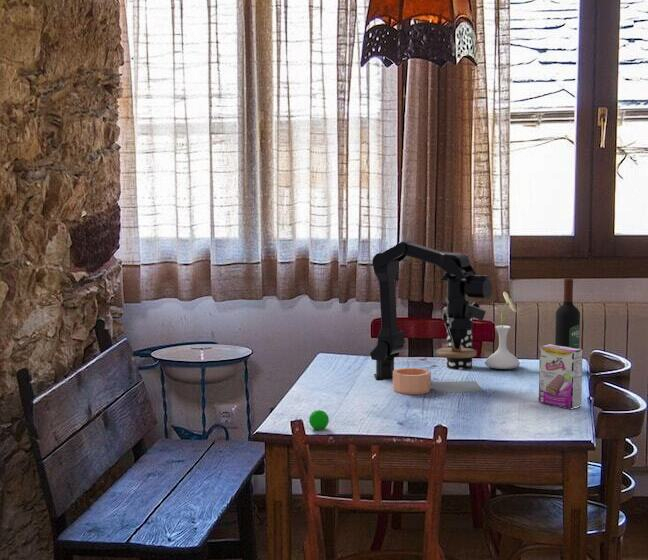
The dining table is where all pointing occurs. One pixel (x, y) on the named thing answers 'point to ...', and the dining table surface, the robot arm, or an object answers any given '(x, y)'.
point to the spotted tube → (465, 343)
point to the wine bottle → (567, 320)
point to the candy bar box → (560, 376)
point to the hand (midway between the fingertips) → (456, 347)
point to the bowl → (411, 380)
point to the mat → (457, 386)
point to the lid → (456, 352)
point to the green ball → (318, 419)
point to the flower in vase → (503, 344)
